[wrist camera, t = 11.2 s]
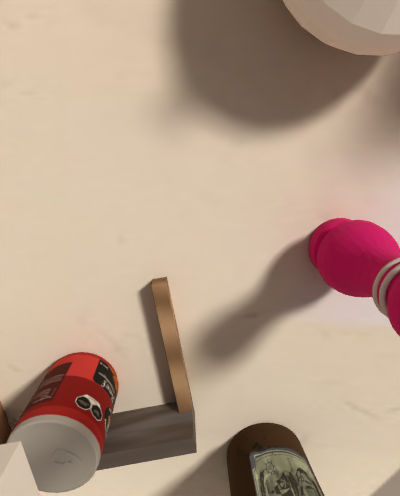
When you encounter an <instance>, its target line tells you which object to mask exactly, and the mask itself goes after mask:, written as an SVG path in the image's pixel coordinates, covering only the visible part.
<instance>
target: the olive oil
mask: <svg viewBox="0 0 400 496" xmlns="http://www.w3.org/2000/svg"><path fill="white" fill-rule="evenodd" d="M227 466H228V475H229V483H230V492H231V496H324V494H323V492H322V490H321V487H320V485H319V483H318V481H317V479H316V477H315V475H314V472H313V470H312V468H311V466H310V464H309V461H308V459H307V457H306V455H305V452H304V450H303V448H302V446H301V444H300V441H299V440H298V438H297V437H296V435H295V434H294V433H293V432H292V431H291V430H289V429H288V428H286V427H284V426H282V425H279V424H274V423H261V424H256V425H253V426H250V427H248V428H246V429H244V430H243V431H241V432H240V433H239V434H237V435H236V436H235V438H234V439H233V440H232V442H231V443H230V445H229V448H228V451H227Z"/></svg>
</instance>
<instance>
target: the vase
mask: <svg viewBox="0 0 400 496" xmlns="http://www.w3.org/2000/svg"><path fill="white" fill-rule="evenodd" d="M283 2H284V4H285V6H286V7H287V9H288V10H289V11H290V13H291V14H292V15H293V17H294V18H295V19H296V20H297V22H298V23H299V24H300V26H301V27H303V28H304V29H305V30H307V31H308V32H309V33H311V34H312V35H313V36H315V37H316V38H318V39H319V40H320V41H322V42H324V43H325V44H327V45H330V46H332V47H335V48H338V49H341V50H344V51H347V52H349V53H352V54H355V55H377V56H386V55H390V54H394V53H398V52H400V0H283Z"/></svg>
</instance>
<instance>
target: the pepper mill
mask: <svg viewBox="0 0 400 496" xmlns="http://www.w3.org/2000/svg"><path fill="white" fill-rule="evenodd" d="M309 256H310V259H311V261H312V263H313V265H314V266H315V267H316V268H317V269H318V270H319V272H320V274H321V276H322V278H323V279H324V281H325V282H326V283H327V284H328V285H329V286H331V287H332V288H334V289H335V290H337V291H338V292H341V293H343V294H345V295H349V296H354V297H372V298H373V300H374V303H375V305H376V307H377V308H378V310H379V311H380V312H381V313H383V314H384V315H386V316H387V317H388V318H389V320H390V323H391V325H392V327H393V329H394V330H395V331H396V333H397V334H398V335H399V336H400V248H399V246H398V244H397V242H396V241H395V239H394V238H393V237H392V236H391V235H390V234H389V233H388V232H387V231H386V230H385V229H383V228H382V227H380V226H378V225H376V224H374V223H372V222H369V221H364V220H350V219H346V218H336V219H332V220H329V221H327V222H325V223H323V224H322V225H321V226H320V227H318V228H317V229H316V231H315V232H314V233H313V235H312V237H311V240H310V243H309Z"/></svg>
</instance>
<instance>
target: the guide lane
mask: <svg viewBox="0 0 400 496" xmlns="http://www.w3.org/2000/svg"><path fill="white" fill-rule="evenodd" d="M151 287H152V292H153V296H154V301H155V305H156V310H157V314H158V319H159V323H160V328H161V332H162V337H163V342H164V346H165V351H166V355H167V360H168V364H169V369H170V373H171V378H172V383H173V387H174V392H175V396H176V401H177V402H175V403H170V404H164V405H159V406H153V407H148V408H142V409H137V410H131V411H126V412H120V413H114V414H112V416H111V420H110V424H109V428H108V432H107V436H106V439H105V443H104V447H103V451H102V455H101V458H100V461H99V465H98V467H97V470H103V469H108V468H114V467H119V466H125V465H130V464H136V463H141V462H147V461H152V460H158V459H163V458H169V457H174V456H180V455H185V454H191V453H196V452H197V450H196V430H195V412H194V407H193V402H192V397H191V393H190V388H189V383H188V378H187V373H186V368H185V364H184V359H183V354H182V349H181V344H180V339H179V334H178V330H177V325H176V320H175V315H174V310H173V305H172V301H171V296H170V291H169V286H168V281H167V277H164V278H158V279H153V281H152V285H151ZM10 434H11V429H10V426H9V424H8V421H7V418H6V415H5V413H4V410H3V407H2V405H1V402H0V445H2V444H6V443H7V441H8V438H9V436H10ZM97 470H96V471H97Z"/></svg>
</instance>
